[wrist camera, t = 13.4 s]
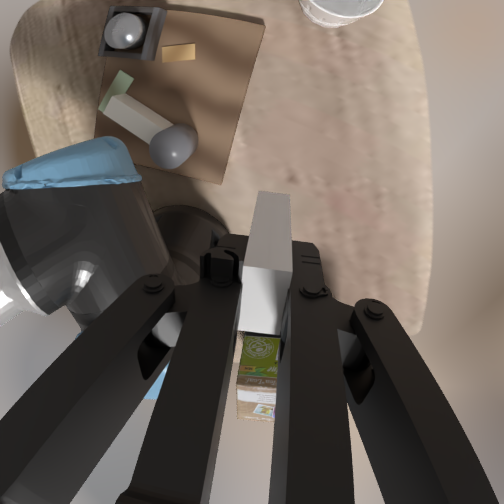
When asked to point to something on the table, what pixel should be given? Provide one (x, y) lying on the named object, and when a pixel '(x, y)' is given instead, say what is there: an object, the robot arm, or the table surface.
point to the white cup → (337, 11)
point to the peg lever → (154, 131)
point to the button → (126, 31)
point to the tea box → (257, 377)
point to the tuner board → (183, 82)
